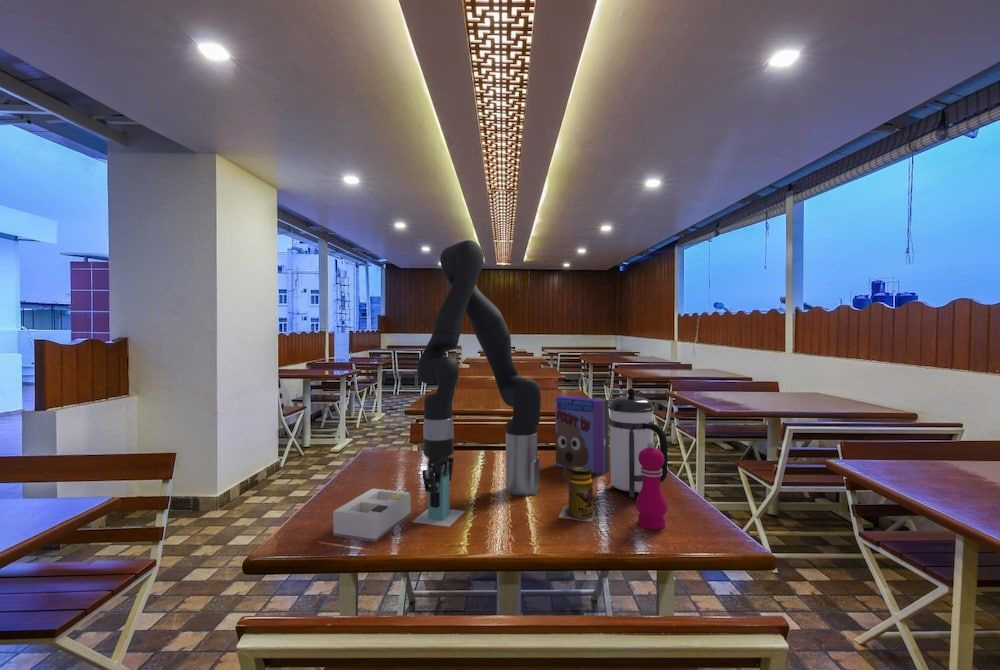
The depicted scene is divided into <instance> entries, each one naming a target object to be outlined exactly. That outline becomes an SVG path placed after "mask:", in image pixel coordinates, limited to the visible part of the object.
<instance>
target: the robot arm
mask: <svg viewBox="0 0 1000 670" xmlns="http://www.w3.org/2000/svg"><path fill="white" fill-rule="evenodd" d="M484 258H485V257H484V252H483V249H482V248H481V246H480V245H479V243H478V242H476V241H474V240H469V239H468V240H467V239H466V240H463V241H459V242H457V243H456V244H452V245H450V246H448V247H446V248H444V249H443V250H442V251H441V253H440V258H439V259H440V260H439V262H440V266H441V269H442V272H443V274H444V276H445V277H446V279H447V281H448V282H449V284H450V290H449V291H448V293H447V295H446V297H445V298H444V300H443V302H442V304H441V305H440V307H439V310H438V312H437V314H436V318H435V321H434V324H433V329H432V332H431V337H430V339H429V341H428V343H427V345H426V346H425V348H424V350H423V352H422V353H421V356H420V357H419V360H418V363H417V366H416V372H417V377H418V379H419V381H420V382H421V383H424V384H428V385H429V384H430V385H438V386H437V390H436V392H434V393H431V394H430V393H429V394H428V395H426V396H425V398H424V402H423V418H424V419H423V426H422V430H423V432H422V434H423V441H422V443H423V449H422V451H423V455H424V456H425V457H427V458H428V463H427V469H422V471H421V475H422V480H423V485H424V490H425V491H424V492H425V493H428V492H430V506H431V507H434V508H438V507H439V506H440V494H439V491H440V483H441V482H442V479H443V475H449V482H451V481H452V478H453V477H452V475H453V467H454V457H451V456H452V455H453V454H454V452H455V451H454V449H455V448H454V422H453V399H454V395H455V392H456V388H457V383H458V379H459V376H460V371H459V364H458V363H457V361H456V359H455V358H453V357H452V356H444V354H445V353H447V352H450V351H452V350H455V349H456V348H457V347H458V344H459V340H460V336H461V332H462V326H463V323H464V318H465V314H466V317H467V318H468V321H469V322H470V325H471V329H473V332H474V334H475V336H476V339H477V341H478V343H479V345H480V347H481V348H482V349H481V350H482V351H483V353H484V356H485V359H486V360H487V362H488V364H489V366H490V368H491V371H492V373H493V376H494V377H493V378H494V379H495V382H496V383H495V384H496V385H497V388H498V392H499V395H500V397H501V399H502V401H503V402H504V403H505V405H507V406H509V407H510V408H512V418H511V420H508V421H507V422H506V423H505V479H506V480H505V481H506V482H505V486H506V487H505V489H506V490H505V491H506V492H507V494H509V495H514V496H520V497H521V496H535V495H537V493H538V491H540V457H539V456H538V427H539V424H540V421H541V408H542V407H541V403H542V396H541V388H540V386H539V384H538V382H537V381H535V380H534V379H531V378H528V377H522V376H521V375H520V373H519V372H518V369H517V367H516V366H515V363H514V360H513V357H512V340H511V339H512V338H511V333H510V331H509V328H508V325H507V324H506V321H505V318H504V316H503V314H502V312H501V311H500V310H499V309H498V307H497V306H496V305H495V304H494V303H493V302H491V300H490V299H488V297H486V296H485V295H484V294H483V293H482V292H481V291H480V289H479V288H478V286H477V285H476V284H477V281H478V279H479V276H480V273H481V271H482V268H483V265H484V260H485V259H484ZM435 478H439V479H435ZM435 482H436V483H437V484H436V483H435Z"/></svg>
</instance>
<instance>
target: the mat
mask: <svg viewBox="0 0 1000 670" xmlns="http://www.w3.org/2000/svg"><path fill="white" fill-rule="evenodd" d="M464 513H465V510H460V509H459V510H458V509H450V514H449V515H448V516H447V517H446V518H445V519H444V520H437V519H429V518H428V508H427V509H426V510H424V511H423V512H422V513H421V514H420V515H418V516H417V517H416V518H415V519H413V520H411V523H417V524H423V525H424V524H425V525H431V526H432V525H433V526H440V527H448V528H449V527H451V526H452V525H453V524H454V523H455V522H456V521H457V520H459V518H460V517H461V516H462V515H463V514H464Z"/></svg>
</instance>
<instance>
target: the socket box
mask: <svg viewBox="0 0 1000 670" xmlns="http://www.w3.org/2000/svg"><path fill="white" fill-rule="evenodd" d="M332 511H333V512H332V514H333V515H332V516H333V517H332V518H333V519H332V521H333V522H332V523H333V525H332V526H333V530H332V531H333V537H339V538H345V539H352V540H360V541H366V542H373V543H377V542H378V541H379V540H380V539H381V538H383V537H384V536H385V535H386V534H388V533H389V532H391V530H392V531H393V529H394V528H396V527H397V526H398V525H400V524H401V523H402V522H403V521H404V520H406V519H407V518H408V517H409V516H411V492H407V491H401V490H400V491H398V490H391V489H382V488H380V489H379V488H370V489H369V490H368V491H366V492H364V493H362V494H360V495H359V496H357V497H355V498H353V499H352V500H350V501H348V502H347V503H344V505H341V506H339V507H338V508H336V509H335V510H332Z"/></svg>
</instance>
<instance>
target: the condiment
mask: <svg viewBox="0 0 1000 670" xmlns="http://www.w3.org/2000/svg"><path fill="white" fill-rule="evenodd" d="M593 483H594V481H593V478H592V473H591V469H590V468H588V467H585V466H573V467H571V469H569V478H568V506H563V507H562V509H561V511H560V513H559V516H558V519H559V518H560V519H561V518H562V519H568V520H576V521H580V522H581V521H582V522H591V523H592V522H593V521H594V519H595V515H596V510H595V509H593V508H594V506H593V504H594V502H593V498H594V497H593V492H594V491H593Z"/></svg>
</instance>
